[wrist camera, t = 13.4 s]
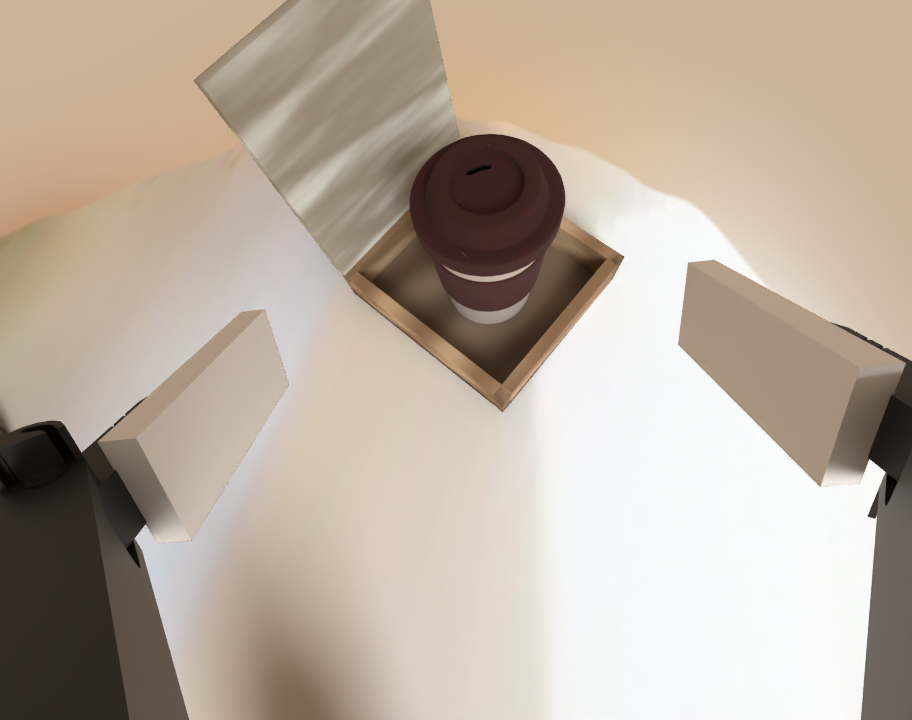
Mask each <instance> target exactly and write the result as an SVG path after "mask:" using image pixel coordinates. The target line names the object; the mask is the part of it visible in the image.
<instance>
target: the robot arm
mask: <svg viewBox="0 0 912 720" xmlns="http://www.w3.org/2000/svg"><path fill="white" fill-rule="evenodd" d="M678 345H679V346H680V347H681V348H682V349H683V350H684V351H685V352H686V353H687V354H688V355H689V356H690V357H691V358H692V359H693V360H694V361H695V362H696V363H697V364H698V365H699V366H700V367H701V368H702V369H703V370H704V371H705V372H706V373H707V374H708V375H709V376H710V377H711V378H712V379H713V380H714V381H715V382H716V383H717V384H718V385H719V386H720V387H721V388H722V389H723V390H724V391H725V392H726V393H727V394H728V395H729V396H730V397H731V398H732V399H733V400H734V401H735V402H736V403H737V404H738V405H739V406H740V407H741V408H742V409H743V410H744V411H745V412H746V413H747V414H748V415H749V416H750V417H751V418H752V419H753V420H754V421H755V422H756V423H757V424H758V425H759V426H760V427H761V428H762V429H763V430H764V431H765V432H766V433H767V434H768V435H769V436H770V437H771V438H772V439H773V440H774V441H775V442H776V443H777V444H778V445H779V446H780V447H781V448H782V449H783V450H784V451H785V452H786V453H787V454H788V455H789V456H790V457H791V458H792V459H793V460H794V461H795V462H796V463H797V464H798V465H799V466H800V467H801V468H802V469H803V470H804V471H805V472H806V473H807V474H808V475H809V476H810V477H811V478H812V479H813V480H814V481H815V482H816V483H817V484H818V485H819V486H820V487H828V486H839V485H851V484H860V482H861V479H862V477H863V474H864V471H865V469H866V466H867V463H868V461H869V459H870V460H872V461H873V462H874V463H875V464H877V465H878V466H879V467H880V468H881V469H883V470H884V471H885V472H886V473H885V475H884V478H883V480H882V483H881V485H880V487H879V490H878V492H877V495H876V497H875V499H874V502H873V504H872V507H871V509H870V512H869V514H868V517H871V518H874V519H875V518H876V516H877V524H876V536H875V549H874V561H873V574H872V587H871V599H870V612H869V625H868V637H867V650H866V663H865V675H864V688H863V701H862V713H861V720H912V361H910V360H909V359H907V358H905V357H903V356H901V355H899V354H897V353H895V352H893V351H891V350H889V349H887V348H883V346H882V345H880V344H878V343H876V342H874V341H873V340H867V337H865V336H863V335H861V334H859V333H857V332H855V331H853V330H852V329H850V328H847V327H844V326H840V325H837V324H834V323H831V322H828V321H827V320H825V319H823V318H821V317H819V316H817V315H816V314H814V313H812V312H810V311H808V310H806V309H804V308H803V307H801V306H799V305H797V304H795V303H793V302H791V301H790V300H788V299H786V298H784V297H782V296H780V295H778V294H777V293H775V292H773V291H771V290H769V289H767V288H765V287H764V286H762V285H760V284H758V283H756V282H754V281H752V280H751V279H749V278H747V277H745V276H743V275H741V274H739V273H738V272H736V271H734V270H732V269H730V268H728V267H726V266H725V265H723V264H721V263H719V262H717V261H715V260H709V261H699V262H690V263H688V268H687V277H686V285H685V293H684V301H683V310H682V318H681V326H680V334H679V343H678ZM288 386H289V382H288V379H287V375H286V372H285V369H284V366H283V363H282V360H281V357H280V354H279V351H278V348H277V345H276V342H275V339H274V336H273V333H272V329H271V326H270V323H269V320H268V317H267V314H266V311H265V310H256V311H247V312H241V313H240V314H239V315H238V316H237V317H235V318H234V319H233V320H232V321H231V322H230V323H229V324H228V325H227V326H225V327H224V328H223V329H222V330H221V331H220V332H219V333H218V334H217V335H215V336H214V337H213V338H212V339H211V340H210V341H209V342H208V343H207V344H206V345H204V346H203V347H202V348H201V349H200V350H199V351H198V352H197V353H196V354H194V355H193V356H192V357H191V358H190V359H189V360H188V361H187V362H186V363H184V364H183V365H182V366H181V367H180V368H179V369H178V370H177V371H176V372H174V373H173V374H172V375H171V376H170V377H169V378H168V379H167V380H166V381H165V382H163V383H162V384H161V385H160V386H159V387H158V388H157V389H156V390H155V391H153V392H152V393H151V394H150V395H149V396H148V397H146V398H144V399H143V400H141V401H139V402H138V403H137V404H136V405H135V406H134V407H132V408H131V409H130V410H129V411H128V412H127V413H126V414H125V415H126V416H122V417H121V418H120V419H119V420H118V421H117V422H116V423H115V424H114V427H110V428H109V429H108V430H107V431H106V432H104V433H103V434H102V435H101V436H100V437H99V438H98V439H97V440H96V441H94V442H93V443H92V444H91V445H90V446H89V447H88V448H87V449H85V450H84V451H83V452H82V453H81V451H80V450H79V448H78V446H77V445H76V443H75V442H74V440H73V438H72V437H71V435H70V433H69V432H68V430H67V429H66V427H65V425H64V424H63V423H62V422H61V421H46V422H40V423H35V424H32V425H29V426H25V427H22V428H20V429H17V430H15V431H13V432H10V433H8V434H6V433H5V431H4V430H3V429H2V428H1V427H0V720H189V718H188V714H187V711H186V707H185V704H184V700H183V696H182V693H181V689H180V686H179V682H178V678H177V675H176V671H175V668H174V664H173V661H172V657H171V653H170V650H169V646H168V643H167V639H166V635H165V632H164V628H163V625H162V621H161V617H160V614H159V610H158V607H157V603H156V599H155V596H154V592H153V589H152V585H151V581H150V578H149V574H148V571H147V567H146V564H145V560H144V556H143V553H142V550H141V548H140V547H139V545H138V544H137V542H136V540H135V539H134V538H135V537H136V536H137V535H138V533H139V532H140V531H141V529H142V528H143V527H144V525H145V524H146V525H147V527H148V529H149V530H150V532H151V534H152V535H153V537H154V539H155V541H156V542H157V544H161V543H173V542H185V541H192V539H193V538H194V536H195V535H196V533H197V531H198V530H199V528H200V527H201V525H202V523H203V522H204V520H205V519H206V517H207V515H208V514H209V512H210V511H211V509H212V507H213V506H214V504H215V503H216V501H217V499H218V498H219V496H220V495H221V493H222V491H223V490H224V488H225V487H226V485H227V483H228V482H229V480H230V479H231V477H232V475H233V474H234V472H235V471H236V469H237V467H238V466H239V464H240V463H241V461H242V459H243V458H244V456H245V455H246V453H247V451H248V450H249V448H250V447H251V445H252V443H253V442H254V440H255V439H256V437H257V435H258V434H259V432H260V431H261V429H262V427H263V426H264V424H265V422H266V421H267V419H268V418H269V416H270V414H271V413H272V411H273V410H274V408H275V406H276V405H277V403H278V402H279V400H280V398H281V397H282V395H283V394H284V392H285V390H286V389H287V387H288Z"/></svg>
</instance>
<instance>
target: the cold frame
mask: <svg viewBox="0 0 912 720" xmlns="http://www.w3.org/2000/svg"><path fill="white" fill-rule="evenodd" d="M194 81H195V83H196V84H197V85H198V87H199V88H200V89H201V91H202V92H203V93H204V94H205V96H206V97H207V98H208V100H209V101H210V103H211V104H212V105H213V106H214V108H215V109H216V110H217V112H218V113H219V114H220V116H221V117H222V118H223V120H224V121H225V122H226V124H227V125H228V126H229V128H230V129H231V130H232V132H233V133H234V134H235V136H236V137H237V138H238V139H239V141H240V142H241V143H242V145H243V146H244V147H245V149H246V150H247V151H248V153H249V154H250V155H251V157H252V158H253V159H254V161H255V162H256V163H257V165H258V166H259V167H260V168H261V170H262V171H263V172H264V174H265V175H266V176H267V178H268V179H269V180H270V182H271V183H272V184H273V186H274V187H275V188H276V190H277V191H278V192H279V194H280V195H281V196H282V198H283V199H284V200H285V201H286V203H287V204H288V205H289V207H290V208H291V209H292V211H293V212H294V213H295V215H296V216H297V217H298V219H299V220H300V221H301V223H302V224H303V225H304V227H305V228H306V229H307V230H308V232H309V233H310V234H311V236H312V237H313V238H314V240H315V241H316V242H317V244H318V245H319V246H320V248H321V249H322V250H323V252H324V253H325V254H326V256H327V257H328V258H329V260H330V261H331V262H332V263H333V265H334V266H335V267H336V269H337V270H338V271H339V272H340V273H341V274H342V275H343V277H344V278H345V280H346V281H347V283H348V284H349V286H350V287H351V289H352V290H353V292H354V293H355V294H356V295H357V296H359V297H360V298H361V299H362V300H364V301H365V302H366V303H367V304H369V305H370V306H371V307H372V308H374V309H375V310H376V311H377V312H379V313H380V314H381V315H382V316H384V317H385V318H386V319H387V320H389V321H390V322H391V323H392V324H394V325H395V326H396V327H397V328H399V329H400V330H401V331H402V332H404V333H405V334H406V335H407V336H409V337H410V338H411V339H412V340H414V341H415V342H416V343H417V344H419V345H420V346H421V347H422V348H424V349H425V350H426V351H427V352H429V353H430V354H431V355H432V356H434V357H435V358H436V359H437V360H438V361H440V362H441V363H442V364H443V365H445V366H446V367H447V368H448V369H450V370H451V371H452V372H453V373H455V374H456V375H457V376H458V377H460V378H461V379H462V380H463V381H465V382H466V383H467V384H468V385H470V386H471V387H472V388H473V389H475V390H476V391H477V392H478V393H480V394H481V395H482V396H483V397H485V398H486V399H487V400H488V401H490V402H491V403H492V404H493V405H495V406H496V407H497V408H498V409H500V410H501V411H502V412H503V411H504V410H505V409H506V408H507V406H508V405H509V404H510V403H511V402H512V400H513V399H514V398H515V397H516V395H517V394H518V393H519V392H520V391H521V389H522V388H523V387H524V386H525V385H526V383H527V382H528V381H529V380H530V378H531V377H532V376H533V375H534V374H535V372H536V371H537V370H538V369H539V368H540V366H541V365H542V364H543V363H544V361H545V360H546V359H547V358H548V357H549V355H550V354H551V353H552V352H553V351H554V349H555V348H556V347H557V346H558V344H559V343H560V342H561V341H562V340H563V338H564V337H565V336H566V335H567V334H568V332H569V331H570V330H571V329H572V327H573V326H574V325H575V324H576V323H577V321H578V320H579V319H580V318H581V317H582V315H583V314H584V313H585V312H586V310H587V309H588V308H589V307H590V306H591V304H592V303H593V302H594V301H595V300H596V298H597V297H598V296H599V295H600V293H601V292H602V291H603V290H604V289H605V287H606V286H607V285H608V284H609V283H610V281H611V280H612V279H613V277H614V275H615V273H616V271H617V269H618V268H619V266H620V264H621V262H622V260H623V258H624V256H622V255H621V254H619V253H618V252H616V251H615V250H613V249H611V248H610V247H608V246H607V245H605V244H604V243H602V242H601V241H599V240H597V239H596V238H594V237H593V236H591V235H590V234H588V233H586V232H585V231H583V230H582V229H580V228H579V227H577V226H576V225H574V224H572V223H571V222H569V221H568V220H566V219H565V218H563V217H562V220H561V225H560V228H559V230H558V233H557V235H556V237H555V239H554V240H553V242H552V243H551V245H550V246H549V247H548V249H547V250H546V253H545V256H544V259H543V262H542V265H541V268H540V271H539V274H538V277H537V280H536V282H535V284H534V286H533V288H532V289H531V291H530V293H529V296H528V299H527V301H526V303H525V305H524V306H523V308H522V309H521V310H520V311H519V312H518V313H517V314H516V315H515V316H513V317H512V318H510V319H508V320H506V321H504V322H501V323H496V324H481V323H477V322H474V321H471V320H469V319H467V318H466V317H464V316H463V315H462V314H461V313H460V312H459V311H458V310H457V309H456V308H455V306H454V305H453V303H452V301H451V298H450V296H449V294H448V293H447V291H446V290H445V288H444V287H443V285H442V283H441V280H440V278H439V275H438V273H437V270H436V268H435V265H434V263H433V261H432V258H431V256H430V255H429V254H428V252H427V251H426V250H425V249H424V248H423V246H422V245H421V243H420V241H419V239H418V237H417V235H416V232H415V229H414V226H413V223H412V219H411V215H410V206H409V201H410V193H411V189H412V185H413V183H414V180H415V178H416V176H417V174H418V172H419V171H420V169H421V168H422V166H423V165H424V164H425V162H426V161H427V160H428V159H429V158H430V157H431V156H432V155H434V154H435V153H436V152H437V151H439V150H440V149H441V148H443V147H445V146H447V145H449V144H451V143H452V142H455V141H457V140H460V137H459V132H458V128H457V123H456V119H455V114H454V110H453V105H452V100H451V96H450V91H449V87H448V82H447V77H446V73H445V68H444V64H443V59H442V55H441V50H440V45H439V41H438V36H437V32H436V27H435V22H434V18H433V14H432V9H431V4H430V0H287V1H286V2H285V3H284V4H282V5H281V6H280V7H279V8H278V9H277V10H276V11H274V12H273V13H272V14H271V15H269V16H268V17H267V18H266V19H265V20H264V21H263V22H261V23H260V24H259V25H258V26H257V27H255V29H253V30H252V31H251V32H250V33H248V34H247V35H246V36H245V37H244V38H243V39H241V40H240V41H239V42H238V43H237V44H236V45H234V46H233V47H232V48H231V49H230V50H229V51H227V52H226V53H225V54H224V55H223V56H221V58H219V59H218V60H217V61H216V62H214V63H213V64H212V65H211V66H210V67H209V68H208V69H206V70H205V71H204V72H203V73H202V74H200V75H199V76H198V77H197V78H196V79H195V80H194Z"/></svg>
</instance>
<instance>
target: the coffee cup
mask: <svg viewBox="0 0 912 720" xmlns="http://www.w3.org/2000/svg"><path fill="white" fill-rule="evenodd" d="M409 206H410V215H411V219H412V223H413V226H414V229H415V232H416V235H417V237H418V239H419V241H420V243H421V245H422V246H423V248H424V249H425V250H426V251H427V252H428V254H429V255H430V256H431V258H432V261H433V263H434V265H435V268H436V270H437V273H438V275H439V278H440V280H441V283H442V285H443V287H444V288H445V290H446V291H447V293H448V294H449V296H450V298H451V301H452V303H453V305H454V306H455V308H456V309H457V310H458V311H459V312H460V313H461V314H462V315H463V316H464V317H466V318H467V319H469V320H471V321H474V322H477V323H481V324H496V323H501V322H504V321H506V320H508V319H510V318H512V317H513V316H515V315H516V314H517V313H518V312H519V311H520V310H521V309H522V308H523V306H524V305H525V303H526V301H527V299H528V296H529V293H530V291H531V289H532V288H533V286H534V284H535V282H536V280H537V277H538V274H539V271H540V268H541V265H542V262H543V259H544V256H545V253H546V250H547V249H548V247H549V246H550V245H551V243H552V242H553V240H554V239H555V237H556V235H557V233H558V230H559V228H560V225H561V220H562V216H563V212H564V207H565V190H564V185H563V181H562V178H561V176H560V174H559V172H558V170H557V168H556V166H555V165H554V164H553V162H552V161H551V160H550V159H549V158H548V157H547V156H546V155H545V154H544V153H543V152H542V151H541V150H539V149H538V148H536V147H535V146H533V145H531V144H529V143H528V142H526V141H523V140H521V139H518V138H514V137H510V136H505V135H496V134H485V135H475V136H470V137H466V138H463V139H460V140H457V141H455V142H452V143H451V144H449V145H447V146H445V147H443V148H441V149H440V150H439V151H437V152H436V153H435V154H434V155H432V156H431V157H430V158H429V159H428V160H427V161H426V162H425V164H424V165H423V166H422V168H421V169H420V171H419V172H418V174H417V176H416V178H415V180H414V183H413V185H412V189H411V193H410V201H409Z"/></svg>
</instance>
